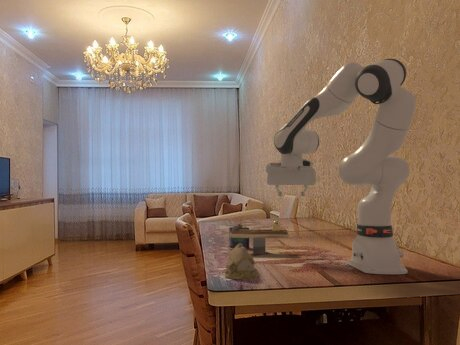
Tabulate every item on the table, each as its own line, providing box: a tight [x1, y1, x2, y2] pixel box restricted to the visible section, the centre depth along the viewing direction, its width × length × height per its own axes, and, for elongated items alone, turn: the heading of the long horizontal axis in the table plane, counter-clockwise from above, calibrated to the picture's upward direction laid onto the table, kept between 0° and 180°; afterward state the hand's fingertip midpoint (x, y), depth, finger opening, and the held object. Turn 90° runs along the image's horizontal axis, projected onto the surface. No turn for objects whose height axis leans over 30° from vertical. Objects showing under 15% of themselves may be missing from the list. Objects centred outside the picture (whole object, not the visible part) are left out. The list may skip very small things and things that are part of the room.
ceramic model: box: [224, 243, 260, 280], centre depth 130 cm, size 14×11×10 cm
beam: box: [230, 225, 290, 255], centre depth 168 cm, size 6×24×11 cm, turn 86°
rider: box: [271, 220, 281, 231], centre depth 168 cm, size 3×3×5 cm
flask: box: [228, 222, 250, 249], centre depth 182 cm, size 9×3×11 cm, turn 73°
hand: (291, 196), depth 168 cm, fingers open, 8 cm apart
